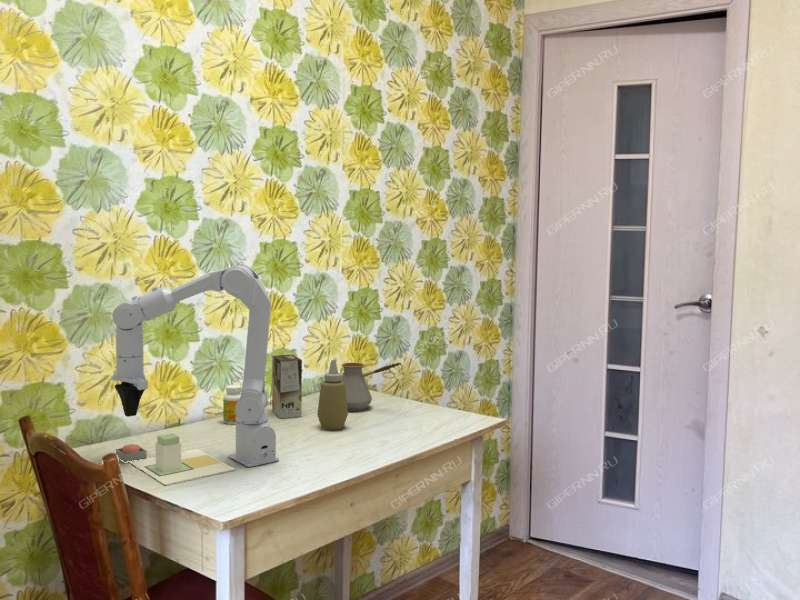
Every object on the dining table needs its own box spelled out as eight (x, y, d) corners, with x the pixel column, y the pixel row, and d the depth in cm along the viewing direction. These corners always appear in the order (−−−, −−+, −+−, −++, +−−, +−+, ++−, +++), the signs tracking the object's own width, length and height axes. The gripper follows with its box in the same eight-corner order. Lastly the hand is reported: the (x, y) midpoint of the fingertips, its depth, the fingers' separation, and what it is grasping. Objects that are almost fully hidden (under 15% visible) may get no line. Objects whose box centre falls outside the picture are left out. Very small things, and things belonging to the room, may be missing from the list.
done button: (142, 458, 171) (142, 447, 171) (126, 461, 169) (126, 450, 169) (135, 454, 174) (135, 443, 174) (120, 457, 172) (120, 446, 171)
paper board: (235, 470, 165) (235, 468, 165) (164, 485, 155) (164, 484, 155) (197, 450, 179) (197, 448, 179) (129, 463, 168) (129, 461, 168)
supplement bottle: (219, 422, 203) (219, 386, 202) (232, 418, 208) (232, 383, 207) (234, 425, 200) (234, 389, 199) (248, 421, 205) (248, 385, 204)
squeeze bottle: (350, 424, 205) (351, 358, 203) (344, 432, 197) (346, 363, 195) (320, 422, 205) (321, 356, 203) (314, 430, 197) (315, 362, 195)
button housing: (146, 459, 171) (146, 450, 171) (124, 463, 168) (124, 454, 168) (137, 453, 175) (137, 445, 175) (115, 457, 172) (115, 449, 172)
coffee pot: (325, 409, 219) (325, 358, 218) (344, 401, 230) (345, 352, 228) (392, 419, 211) (393, 366, 209) (408, 410, 221) (410, 359, 219)
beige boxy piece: (181, 468, 165) (181, 436, 164) (163, 472, 162) (163, 440, 161) (173, 463, 168) (173, 432, 167) (155, 467, 165) (155, 435, 164)
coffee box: (302, 416, 211) (303, 359, 209) (279, 418, 208) (280, 360, 207) (292, 409, 219) (293, 353, 218) (270, 410, 217) (271, 355, 215)
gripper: (99, 352, 172) (100, 411, 173) (124, 362, 161) (125, 425, 162) (130, 349, 176) (131, 406, 178) (156, 359, 166) (157, 420, 167)
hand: (130, 415), depth 170 cm, fingers closed
